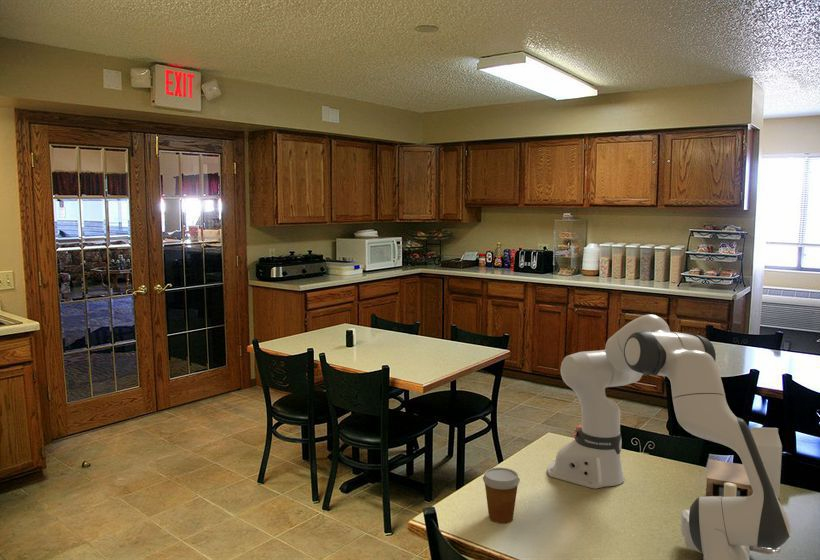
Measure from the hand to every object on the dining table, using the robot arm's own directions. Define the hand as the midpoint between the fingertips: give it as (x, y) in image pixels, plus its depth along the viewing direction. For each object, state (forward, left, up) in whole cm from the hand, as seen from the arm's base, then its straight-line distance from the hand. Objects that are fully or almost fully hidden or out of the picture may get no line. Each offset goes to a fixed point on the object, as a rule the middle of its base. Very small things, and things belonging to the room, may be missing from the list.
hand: (728, 515), depth 150 cm
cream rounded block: (0, +13, -6) cm, 14 cm away
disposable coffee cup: (-53, -15, -6) cm, 55 cm away
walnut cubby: (0, +18, -6) cm, 19 cm away
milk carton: (+8, +33, -6) cm, 34 cm away
